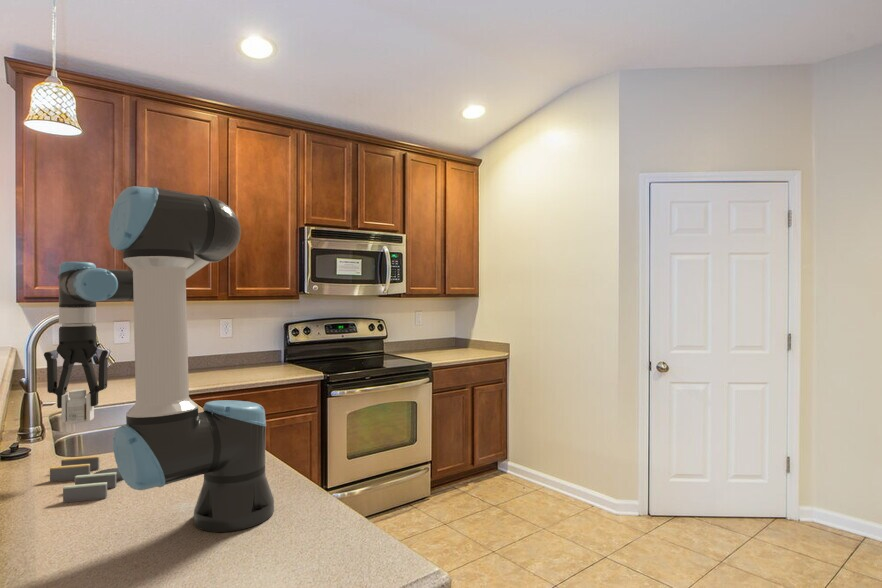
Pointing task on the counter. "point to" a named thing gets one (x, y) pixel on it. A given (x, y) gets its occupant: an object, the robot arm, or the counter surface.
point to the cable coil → (118, 475)
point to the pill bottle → (76, 407)
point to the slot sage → (89, 487)
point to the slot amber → (73, 468)
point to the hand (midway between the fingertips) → (78, 420)
